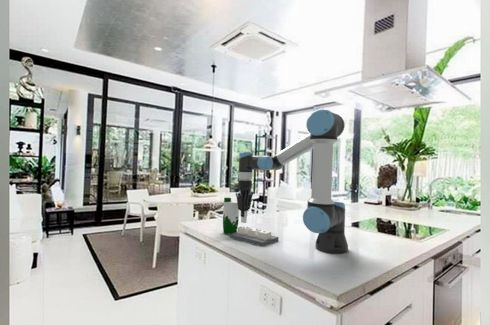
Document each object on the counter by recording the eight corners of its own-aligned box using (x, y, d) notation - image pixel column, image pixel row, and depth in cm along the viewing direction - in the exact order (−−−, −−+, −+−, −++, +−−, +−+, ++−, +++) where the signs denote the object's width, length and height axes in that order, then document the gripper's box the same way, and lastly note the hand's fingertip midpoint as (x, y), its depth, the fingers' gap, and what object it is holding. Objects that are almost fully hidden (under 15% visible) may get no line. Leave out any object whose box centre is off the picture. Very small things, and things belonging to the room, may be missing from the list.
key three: (250, 233, 151) (250, 227, 151) (244, 235, 147) (244, 228, 147) (243, 232, 154) (243, 225, 154) (237, 233, 150) (237, 226, 150)
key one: (271, 238, 142) (271, 231, 142) (265, 240, 138) (265, 233, 138) (263, 236, 145) (263, 229, 145) (257, 238, 141) (257, 231, 141)
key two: (260, 236, 146) (260, 229, 146) (254, 237, 142) (254, 230, 142) (253, 234, 149) (253, 227, 149) (247, 236, 146) (247, 229, 146)
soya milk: (223, 230, 164) (224, 197, 164) (238, 230, 164) (239, 197, 164) (221, 234, 155) (222, 198, 155) (237, 234, 155) (238, 199, 155)
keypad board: (278, 240, 144) (278, 237, 144) (262, 246, 133) (262, 242, 133) (246, 233, 158) (246, 229, 158) (229, 237, 148) (229, 234, 148)
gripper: (247, 179, 158) (246, 219, 158) (232, 179, 148) (230, 223, 148) (257, 179, 153) (256, 222, 153) (242, 180, 143) (241, 225, 143)
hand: (243, 222), depth 151 cm, fingers closed
